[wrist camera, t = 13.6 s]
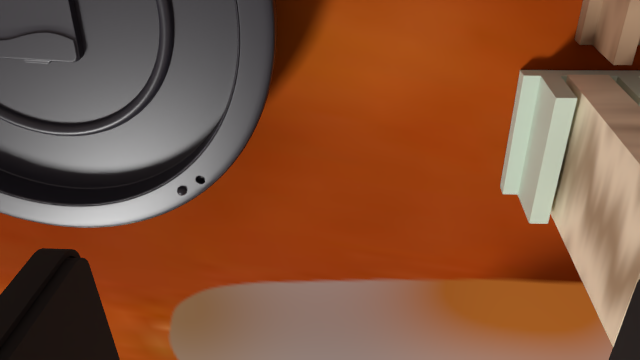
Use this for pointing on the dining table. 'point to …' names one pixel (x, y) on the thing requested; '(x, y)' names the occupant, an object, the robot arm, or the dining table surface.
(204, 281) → the dining table surface
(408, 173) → the dining table surface
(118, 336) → the dining table surface
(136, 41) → the round tray
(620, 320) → the birch board
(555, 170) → the slotted stand
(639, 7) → the rack
